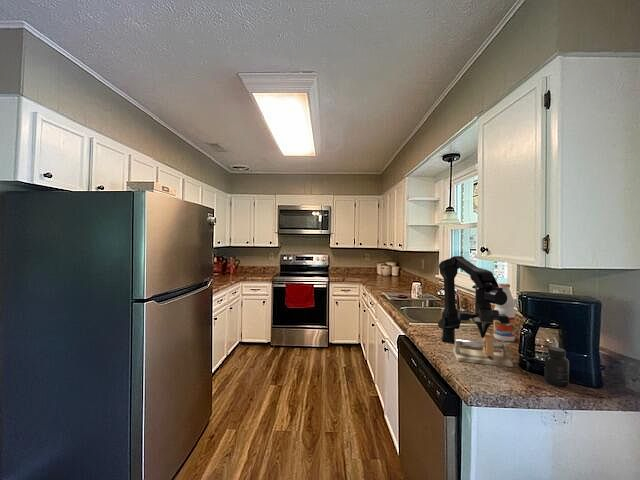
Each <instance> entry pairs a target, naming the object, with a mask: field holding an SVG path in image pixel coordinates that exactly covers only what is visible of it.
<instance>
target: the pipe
mask: <svg viewBox="0 0 640 480" xmlns="http://www.w3.org/2000/svg"><path fill="white" fill-rule="evenodd" d="M456 340H460V346H462V347H464V346H465V347H474V348H482V349H483V348H486V342H483V340H470V339H460V338H457V339H455V343H454V346H455V345H456ZM506 343H507V342H503V343H502V342H494V350H502V349H504V344H505V345H509V343H507V344H506Z"/></svg>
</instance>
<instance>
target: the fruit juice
mask: <svg viewBox="0 0 640 480" xmlns="http://www.w3.org/2000/svg"><path fill="white" fill-rule="evenodd" d="M498 286H499V287H501V288H503V291H504V292H505V293H506V295H507V302H506V303H505V304H504V305H497V304H494V308H493V310H498V311H499V314H505V315H506V316H508V317H509V319H510V324H505V323H501V322H500V321H498V320H493V323H494V324H493V338H494V339H496V340H499V341H503V342H514V341H515V340H516V339H515V338H516V310H515V304H516V301H515V298H514V297H513V295H512V292H511V284H509V283H498Z"/></svg>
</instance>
